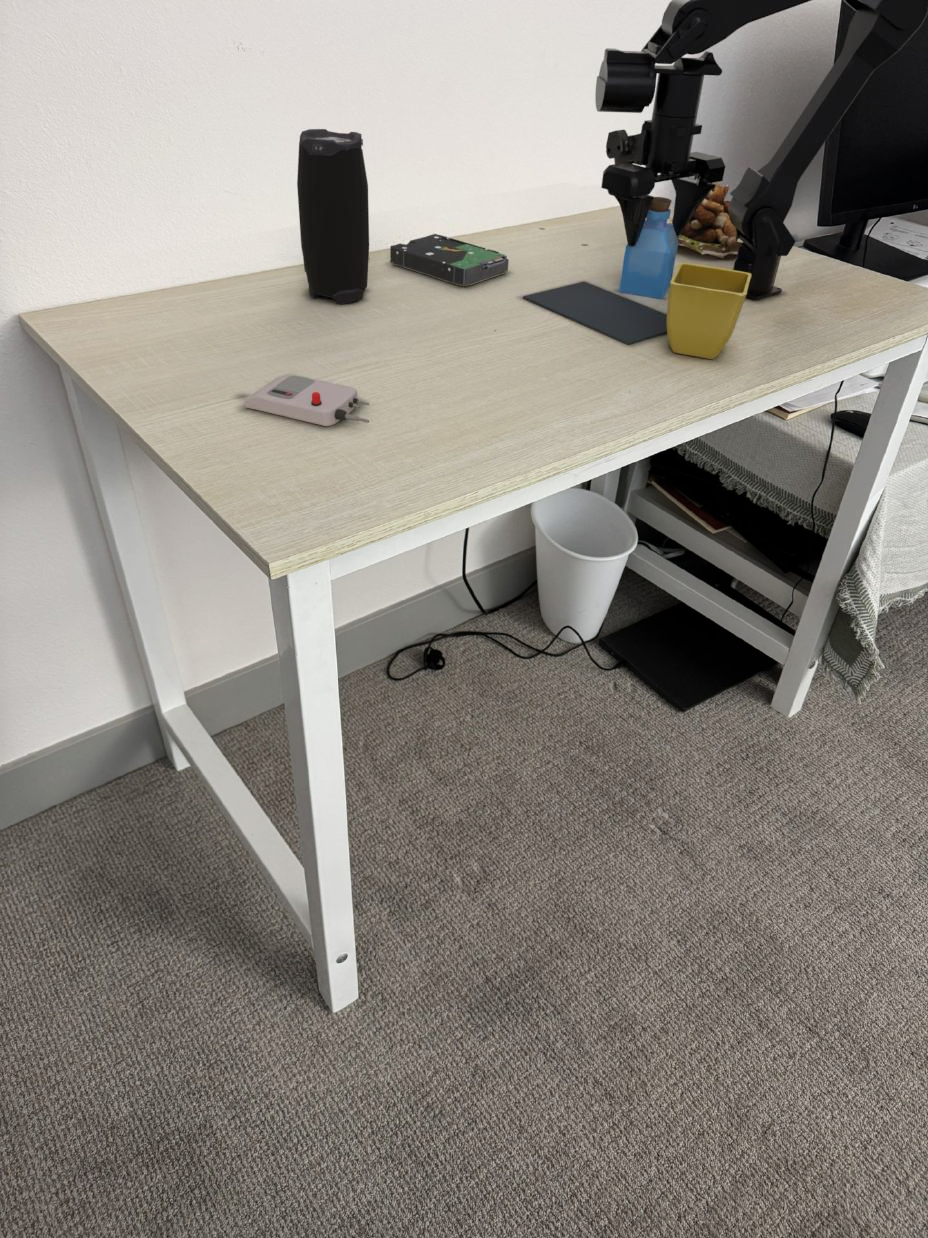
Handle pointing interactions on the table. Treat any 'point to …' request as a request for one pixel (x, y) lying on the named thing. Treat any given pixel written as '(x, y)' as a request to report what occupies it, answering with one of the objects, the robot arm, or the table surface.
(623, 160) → the robot arm
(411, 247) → the disk drive
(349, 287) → the portable speaker
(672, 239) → the perfume bottle
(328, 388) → the grey electronic control box
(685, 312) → the flower pot
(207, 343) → the table surface
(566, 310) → the desk mat
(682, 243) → the bear figurine
